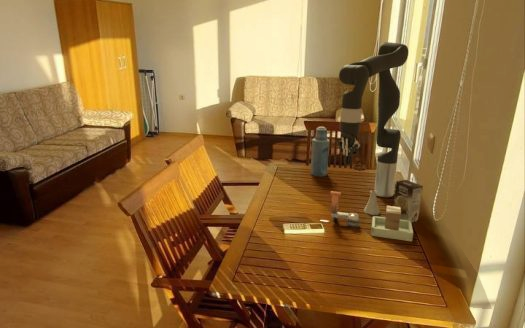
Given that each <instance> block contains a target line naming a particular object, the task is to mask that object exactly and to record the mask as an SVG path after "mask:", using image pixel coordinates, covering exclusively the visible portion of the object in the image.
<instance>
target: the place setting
mask: <svg viewBox="0 0 525 328" xmlns="http://www.w3.org/2000/svg"><path fill="white" fill-rule="evenodd" d="M360 160H361V158H359V157H356V158H355V161H356V162H360ZM352 168H353V170H357V171H361V170H365V165H363V164H357V163H356V164H355V163H354V164H353V165H352Z"/></svg>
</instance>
